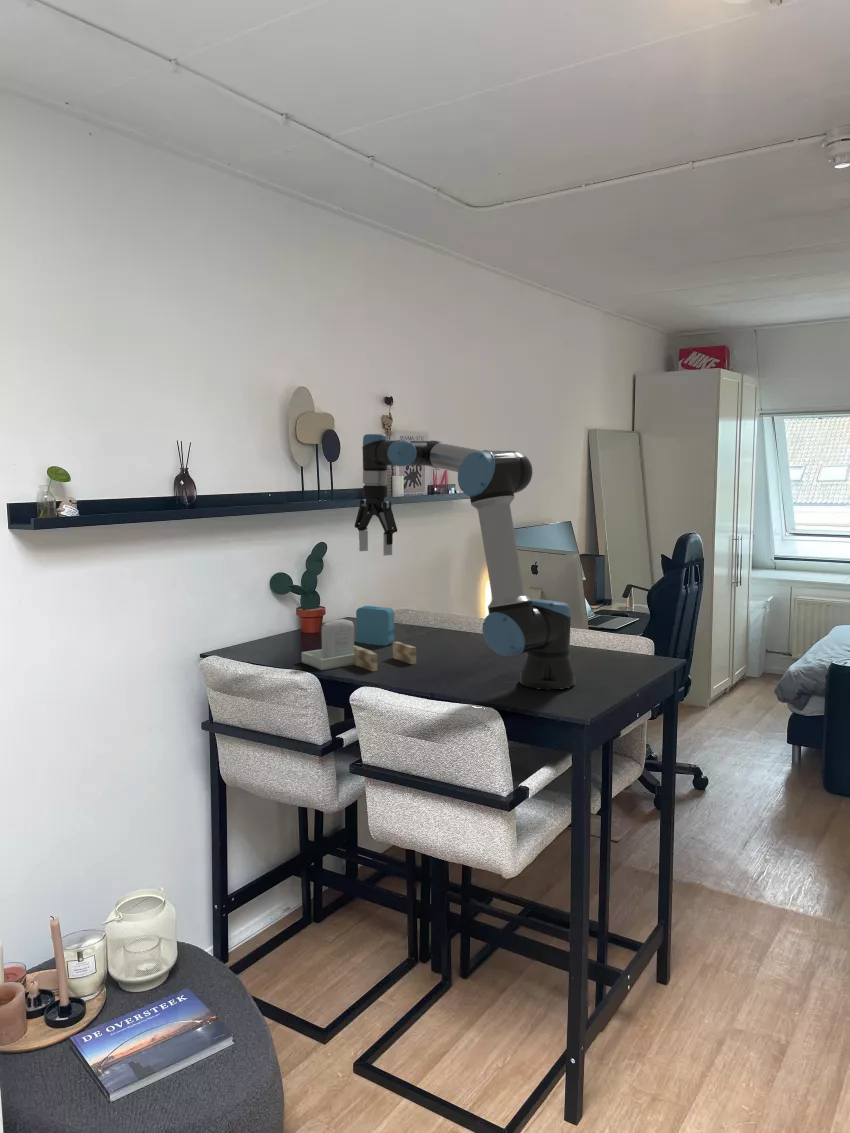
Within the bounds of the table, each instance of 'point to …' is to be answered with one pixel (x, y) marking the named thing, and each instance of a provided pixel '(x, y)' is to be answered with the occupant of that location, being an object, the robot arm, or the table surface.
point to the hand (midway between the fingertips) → (375, 553)
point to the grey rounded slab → (337, 638)
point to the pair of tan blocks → (370, 658)
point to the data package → (375, 625)
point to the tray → (327, 659)
